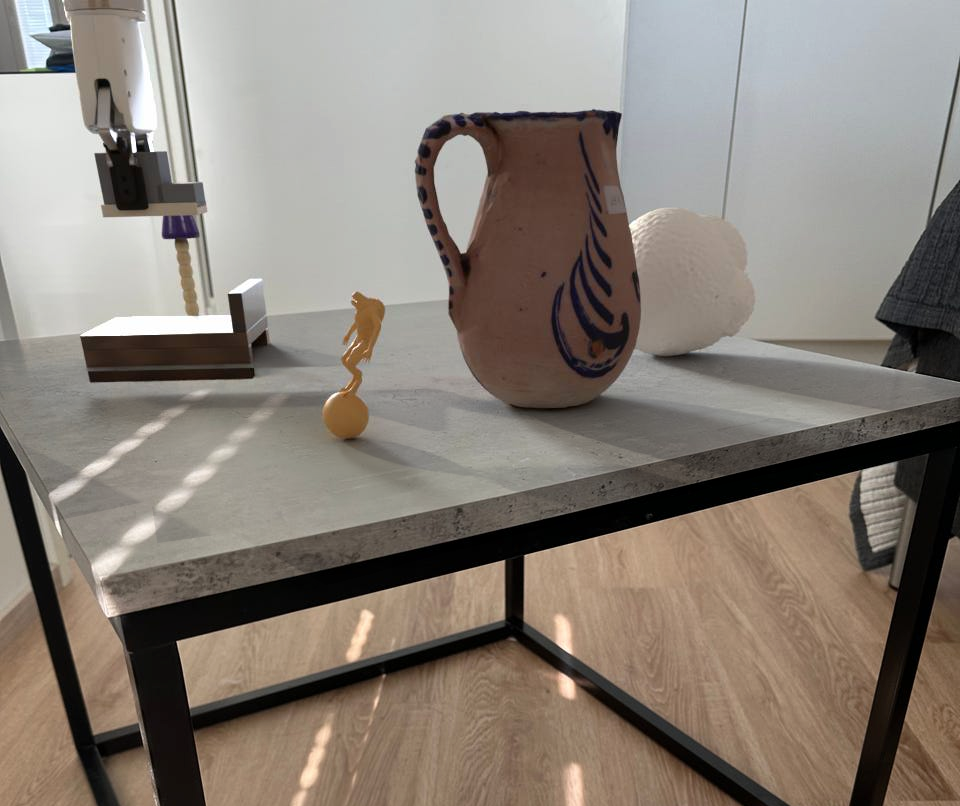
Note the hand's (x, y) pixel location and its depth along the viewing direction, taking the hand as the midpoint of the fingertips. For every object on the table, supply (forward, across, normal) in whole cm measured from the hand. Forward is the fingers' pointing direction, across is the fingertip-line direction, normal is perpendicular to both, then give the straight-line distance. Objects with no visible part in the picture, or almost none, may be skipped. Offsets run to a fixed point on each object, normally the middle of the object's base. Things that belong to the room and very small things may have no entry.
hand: (140, 206), depth 99 cm
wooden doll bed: (+17, 0, +2) cm, 17 cm away
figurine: (+18, +30, +25) cm, 42 cm away
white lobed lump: (+18, -4, +59) cm, 61 cm away
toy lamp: (+17, -18, -1) cm, 25 cm away
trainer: (+1, 0, +2) cm, 2 cm away
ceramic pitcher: (+18, +18, +41) cm, 48 cm away
